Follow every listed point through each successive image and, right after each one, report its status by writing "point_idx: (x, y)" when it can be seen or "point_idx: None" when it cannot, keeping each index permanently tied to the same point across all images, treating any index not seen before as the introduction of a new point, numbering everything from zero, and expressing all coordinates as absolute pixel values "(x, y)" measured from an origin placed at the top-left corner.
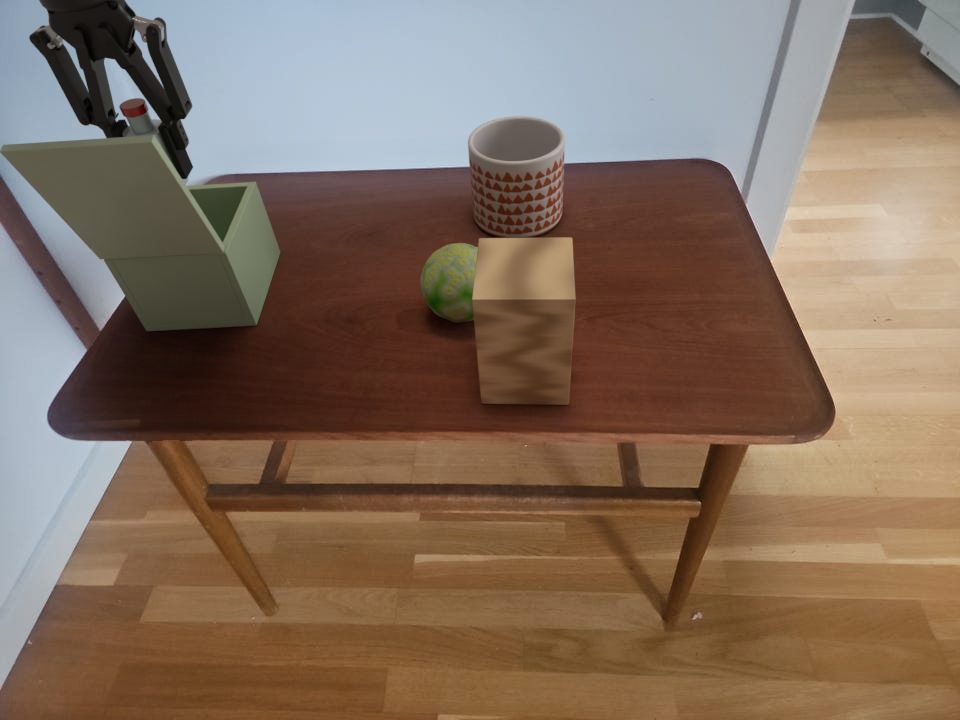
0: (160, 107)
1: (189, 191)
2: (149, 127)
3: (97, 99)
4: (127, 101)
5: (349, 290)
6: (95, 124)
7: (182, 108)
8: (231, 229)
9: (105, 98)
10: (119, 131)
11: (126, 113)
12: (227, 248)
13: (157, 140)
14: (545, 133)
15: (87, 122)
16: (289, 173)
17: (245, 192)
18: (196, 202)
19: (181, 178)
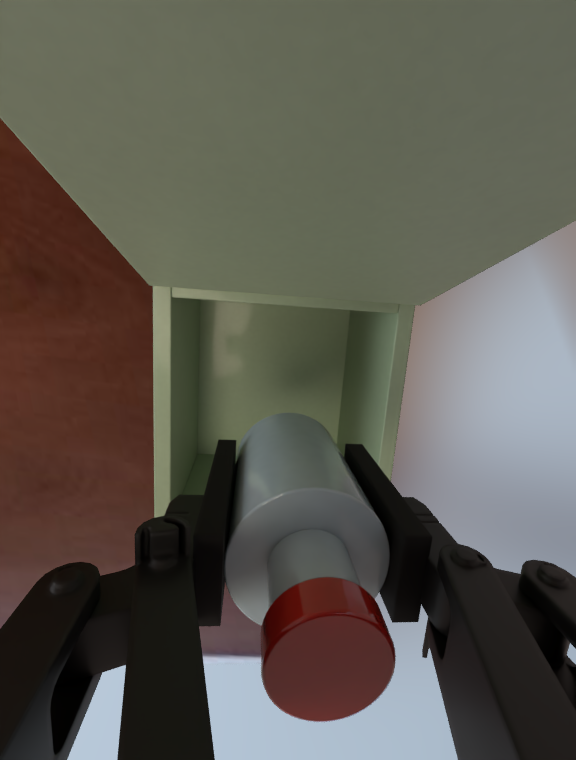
0: (146, 616)
1: (53, 174)
2: (274, 557)
3: (514, 676)
4: (363, 693)
5: (53, 350)
6: (498, 571)
7: (25, 608)
8: (163, 366)
9: (472, 698)
10: (397, 545)
11: (349, 595)
12: (153, 295)
13: (247, 500)
14: None
15: (533, 569)
16: (214, 654)
17: (167, 500)
18: (82, 208)
19: (7, 125)
